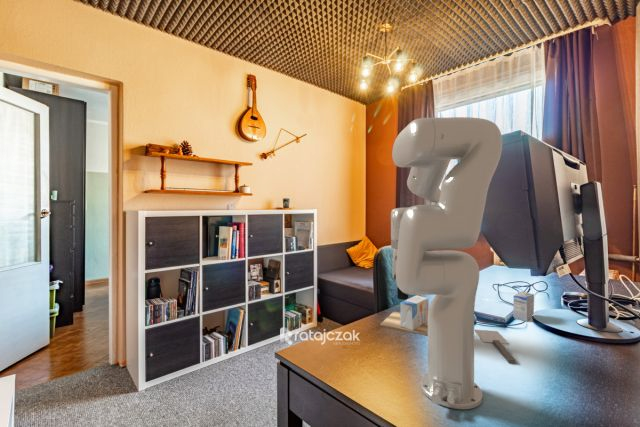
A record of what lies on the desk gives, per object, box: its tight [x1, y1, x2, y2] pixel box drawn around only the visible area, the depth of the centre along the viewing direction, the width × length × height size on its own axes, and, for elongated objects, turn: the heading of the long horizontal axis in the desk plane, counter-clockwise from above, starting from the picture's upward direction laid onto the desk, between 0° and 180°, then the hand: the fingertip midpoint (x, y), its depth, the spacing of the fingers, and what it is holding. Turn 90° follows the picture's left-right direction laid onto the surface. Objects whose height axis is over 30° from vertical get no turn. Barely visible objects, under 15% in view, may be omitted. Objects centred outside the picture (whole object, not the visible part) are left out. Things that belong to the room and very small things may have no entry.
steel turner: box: [474, 329, 517, 365], centre depth 88 cm, size 21×7×1 cm, turn 168°
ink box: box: [399, 295, 430, 330], centre depth 105 cm, size 8×5×15 cm
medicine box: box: [512, 291, 535, 322], centre depth 110 cm, size 8×4×9 cm, turn 130°
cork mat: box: [379, 311, 428, 337], centre depth 106 cm, size 15×16×1 cm
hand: (402, 298), depth 100 cm, fingers closed
